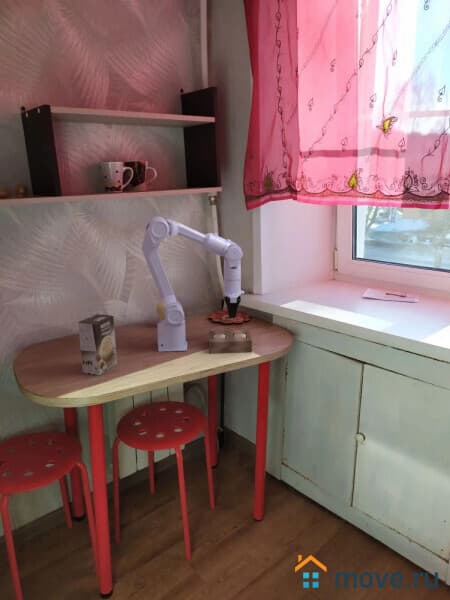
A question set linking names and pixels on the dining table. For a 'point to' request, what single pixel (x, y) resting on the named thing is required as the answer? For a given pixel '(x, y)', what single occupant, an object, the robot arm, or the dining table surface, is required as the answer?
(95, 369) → the coffee box
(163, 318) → the light bulb
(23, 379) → the dining table surface
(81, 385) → the dining table surface
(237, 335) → the right peg
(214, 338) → the left peg
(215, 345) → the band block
